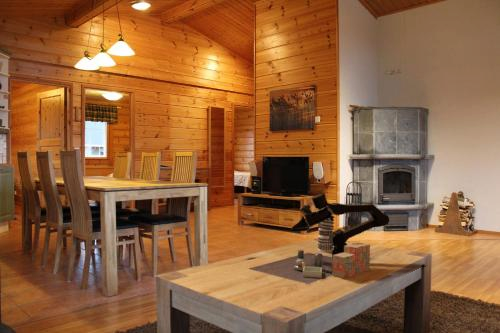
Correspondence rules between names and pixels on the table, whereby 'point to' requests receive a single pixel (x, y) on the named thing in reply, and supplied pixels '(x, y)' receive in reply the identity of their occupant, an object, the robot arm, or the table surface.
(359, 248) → the stack of blocks
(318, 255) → the dark metal cylinder
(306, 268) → the tray
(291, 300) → the table surface
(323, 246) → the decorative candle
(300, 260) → the crank
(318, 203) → the robot arm
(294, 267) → the crank base
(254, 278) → the table surface
